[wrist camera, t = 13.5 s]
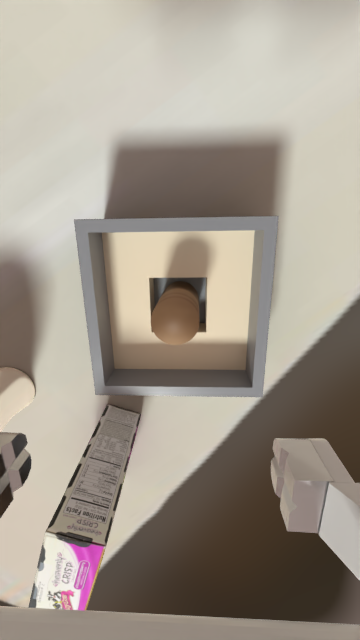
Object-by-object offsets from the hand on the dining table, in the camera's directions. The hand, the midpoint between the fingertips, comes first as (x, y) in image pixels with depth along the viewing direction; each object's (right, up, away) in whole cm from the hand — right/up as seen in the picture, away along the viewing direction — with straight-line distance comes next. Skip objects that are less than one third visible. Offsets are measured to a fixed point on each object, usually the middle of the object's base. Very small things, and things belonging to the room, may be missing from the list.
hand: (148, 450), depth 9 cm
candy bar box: (-8, -12, +29) cm, 32 cm away
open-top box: (+1, +7, +22) cm, 23 cm away
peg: (+1, +7, +21) cm, 22 cm away
